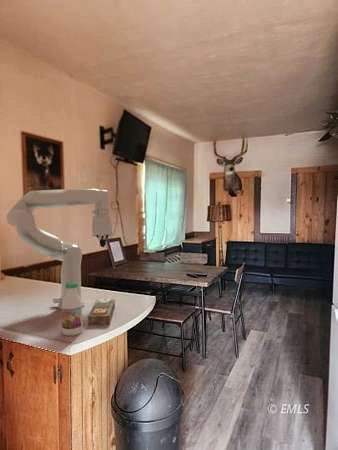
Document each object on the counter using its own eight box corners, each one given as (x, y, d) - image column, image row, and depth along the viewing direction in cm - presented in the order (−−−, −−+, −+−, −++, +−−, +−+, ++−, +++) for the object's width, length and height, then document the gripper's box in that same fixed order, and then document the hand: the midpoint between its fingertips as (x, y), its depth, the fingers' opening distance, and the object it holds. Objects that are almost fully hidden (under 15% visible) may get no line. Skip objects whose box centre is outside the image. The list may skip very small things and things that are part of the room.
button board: (88, 325, 132) (87, 316, 132) (96, 307, 156) (96, 299, 155) (109, 325, 133) (109, 315, 133) (114, 307, 156) (114, 299, 156)
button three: (93, 323, 134) (93, 312, 134) (95, 319, 139) (95, 308, 139) (105, 323, 135) (105, 311, 134) (106, 319, 140) (106, 308, 139)
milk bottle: (64, 329, 129) (63, 280, 128) (84, 328, 129) (83, 280, 128) (60, 336, 121) (58, 285, 120) (80, 336, 122) (79, 285, 121)
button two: (96, 313, 142) (95, 302, 141) (97, 309, 146) (97, 298, 146) (107, 313, 142) (107, 301, 142) (108, 309, 147) (108, 298, 147)
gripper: (86, 213, 165) (87, 248, 166) (114, 213, 165) (115, 247, 167) (89, 213, 172) (90, 246, 174) (116, 212, 173) (117, 245, 174)
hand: (102, 246), depth 170 cm, fingers closed
